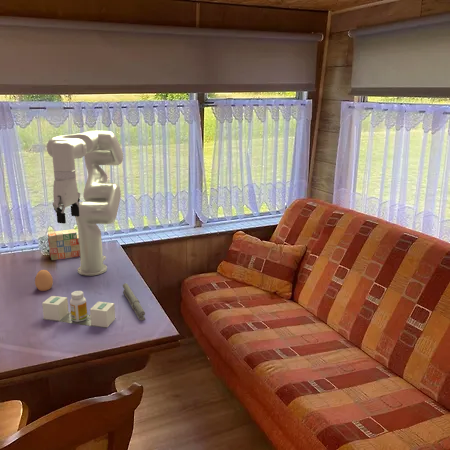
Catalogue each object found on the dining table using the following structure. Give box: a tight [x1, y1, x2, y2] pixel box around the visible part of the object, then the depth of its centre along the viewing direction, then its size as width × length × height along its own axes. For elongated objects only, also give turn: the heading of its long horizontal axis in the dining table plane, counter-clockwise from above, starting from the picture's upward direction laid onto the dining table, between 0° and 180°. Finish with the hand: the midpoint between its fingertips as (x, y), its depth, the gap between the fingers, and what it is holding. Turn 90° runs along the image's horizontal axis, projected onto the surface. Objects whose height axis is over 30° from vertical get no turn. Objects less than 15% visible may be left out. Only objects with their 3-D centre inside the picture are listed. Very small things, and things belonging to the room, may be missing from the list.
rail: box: [43, 311, 117, 329], centre depth 161 cm, size 7×24×1 cm, turn 77°
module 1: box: [41, 295, 70, 322], centre depth 162 cm, size 6×6×6 cm
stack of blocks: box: [47, 228, 80, 261], centre depth 222 cm, size 21×6×12 cm, turn 117°
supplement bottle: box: [69, 290, 88, 322], centre depth 160 cm, size 5×5×10 cm
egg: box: [34, 269, 54, 292], centre depth 183 cm, size 7×7×9 cm
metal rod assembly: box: [122, 283, 146, 321], centre depth 172 cm, size 26×3×5 cm, turn 25°
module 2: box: [89, 301, 116, 328], centre depth 159 cm, size 6×6×6 cm
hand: (68, 219), depth 175 cm, fingers open, 9 cm apart
